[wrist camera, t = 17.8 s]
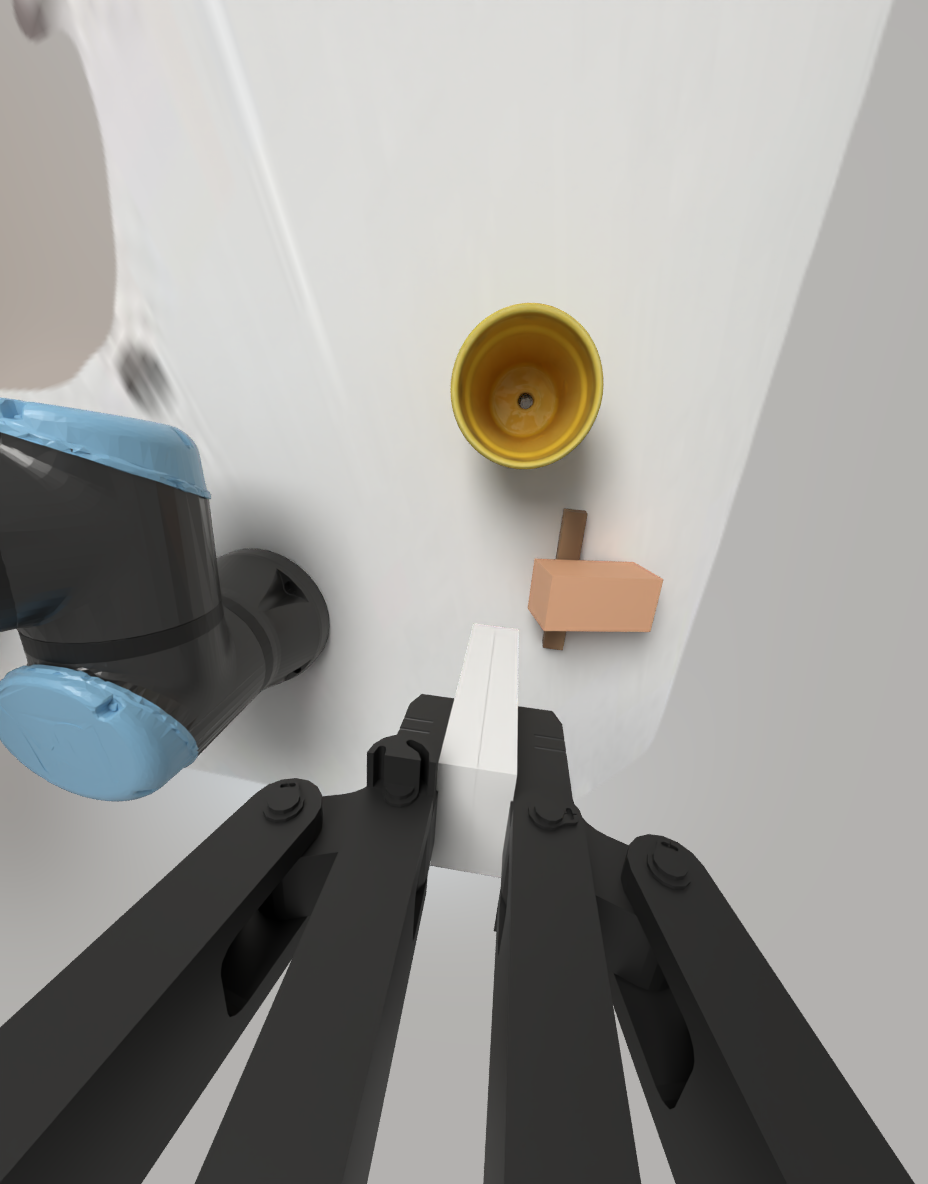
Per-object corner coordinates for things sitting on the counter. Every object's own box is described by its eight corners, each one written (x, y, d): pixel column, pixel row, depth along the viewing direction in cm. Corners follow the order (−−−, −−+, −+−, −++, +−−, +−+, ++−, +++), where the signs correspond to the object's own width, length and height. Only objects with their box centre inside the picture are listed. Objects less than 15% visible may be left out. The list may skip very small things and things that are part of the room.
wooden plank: (542, 641, 46) (542, 647, 45) (563, 508, 41) (565, 511, 40) (561, 643, 46) (562, 650, 45) (585, 510, 41) (587, 513, 40)
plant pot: (589, 331, 36) (611, 296, 27) (580, 461, 40) (597, 469, 31) (465, 337, 38) (447, 305, 28) (466, 462, 41) (451, 470, 32)
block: (543, 630, 38) (650, 631, 39) (552, 575, 36) (663, 579, 38) (527, 608, 42) (623, 609, 44) (534, 558, 41) (634, 562, 42)
